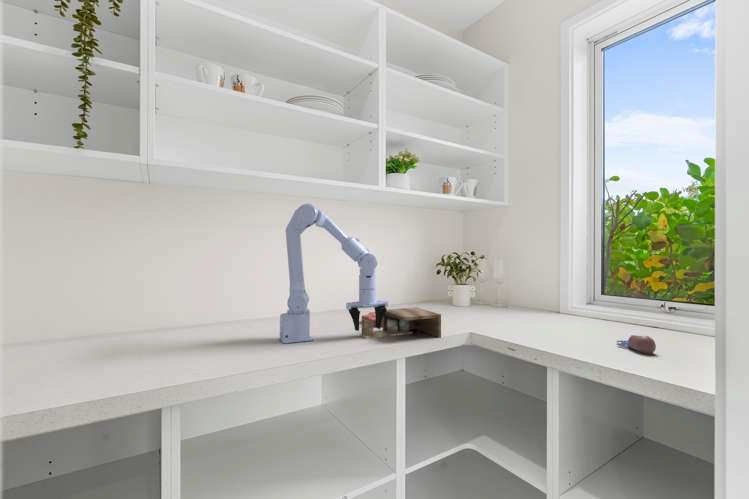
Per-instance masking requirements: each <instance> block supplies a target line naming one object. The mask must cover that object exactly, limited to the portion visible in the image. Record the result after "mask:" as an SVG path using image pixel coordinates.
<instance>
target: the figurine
mask: <svg viewBox="0 0 749 499" xmlns="http://www.w3.org/2000/svg"><path fill="white" fill-rule="evenodd" d="M616 345H618V346H620V345H622V346H623V345H624V346H627V347H629V348H631V349H634V350H635V351H638V352H640V353H642V354H644V355H653V354H654V353H655V352H656V348H657V345H656V343H655V340H654V338H652V337H651V336H648V335H633V334H632V335H630V337H629V338H628V339H627V340H623V339H620V340H618V339H617V340H616Z"/></svg>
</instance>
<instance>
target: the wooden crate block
mask: <svg viewBox="0 0 749 499" xmlns="http://www.w3.org/2000/svg"><path fill="white" fill-rule="evenodd" d="M388 319H397V320H398V330H399V319H401V320H404V321H406V320H409V330H418V331H421V332H423V333H426V334H428V335H430V334H431V336H433V337H435V336H436V337H435V338H438V339H440V338H442V314H441V313H438V312H434V311H431V310H427V309H424V308H420V307H405V308H402V307H401V308H391V309H390V308H389V309H387V310H386V312H385V314H384V316H383V328H382V332H384V331H387V320H388Z"/></svg>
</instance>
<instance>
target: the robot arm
mask: <svg viewBox="0 0 749 499" xmlns="http://www.w3.org/2000/svg"><path fill="white" fill-rule="evenodd" d="M314 225H315V227H318V228H322V229H324V230H325V231H327V232H328V233H329V234H330V235H331V236H332V237H333V238H335V240H337V242H339V243H340V244H341V250H342V251H343V252H344V253H345V254H346V255H347V256H348V257H349V258H350V259H351V260H352V261H354V262H355V263H356V262H357V266H358V268H359V275H358V301H352V302H346V303H345V304H346V306H345V307H346V308H345V309H346V310H348V312H349V314H350V317H351V320H352V322H353V326H354V330H355V331H356V332H359V331H360V314H361V311H360V310H359V309H365V308H366V309H369V308H373V309H374V312H375V316H376V328H375V329H379V330H380V329H381V328H380V326H381V322H382V319H383V316H384V314H385V312H386V310H388V307H389V301H388V300H386V299H385V300H377V275H376V273H377V272H376V268H377V266H378V261H377V258H376V256H375V255H374V254H372V253H370V249H368V248H366V247H365V246H364V245H362V243H360V239H359V238H357V237H354V236H348V235H346V233H344V232H343V231H342V229H341V228H340V227H338V226H337V224H336V223H334V221H333V220H332V219H331V218H330V217H329V216H327V215H326V214H325V213H324V212H323V211H321V210H320V209H318V210H317V207H316V206H314V205H313V204H311V203H304V204H301V205H300V206H299V207H298V208H297V209H295V211H294V212H293V215H292V216H291V218H290V220H289V222H288V224H287V225H286V228H285V239H286V240H285V241H286V250H287V251H286V253H287V254H286V255H287V261H288V262H287V264H288V276H289V295H288V296H289V297H288V299H287V308H288V309H287V311H286V312H285V313H283V312H282V313H281V314H280V315H279V316H280V317H279V339H280V341H281V342H282V344H290V343H291V344H292V343H300V342H309V341H311V342H312V341H313V340H314V338H313V337H312V335H310V332H311V331H310V330H311V328H310V327H311V323H310V322H311V321H310V320H311V319H310V318H311V315H310V314H311V312H310V309H309V308H308V305H309V301H310V297H309V294H308V292H307V291H306V286H305V275H304V265H303V264H304V263H303V250H302V237H301V235H302V234H303V233H304V232H305V231H306V229H308V228H310V227H311V226H314Z"/></svg>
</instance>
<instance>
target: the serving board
mask: <svg viewBox="0 0 749 499" xmlns="http://www.w3.org/2000/svg"><path fill="white" fill-rule="evenodd" d="M412 334H413V331H411V330H410V329H409V320H406V321H404V320H401V319H399V330H398V320H397V319H388V320H387V331H384V332H383V331H377V332H374V328H373V320H372V319H362V318H361V333H360V336H361V337H362V338H364V339H365V338H366V339H365V340H367V339H369V338H370V339H377V337H379V338H384V337H385V338H387V337H386V336H388V337H395V336H396V335H397V336H403V335H404V336H405V335H406V336H407V335H412ZM397 336H396V337H397ZM370 339H369V340H370Z"/></svg>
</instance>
